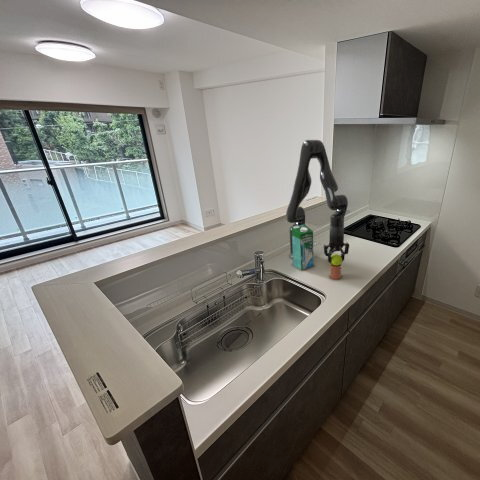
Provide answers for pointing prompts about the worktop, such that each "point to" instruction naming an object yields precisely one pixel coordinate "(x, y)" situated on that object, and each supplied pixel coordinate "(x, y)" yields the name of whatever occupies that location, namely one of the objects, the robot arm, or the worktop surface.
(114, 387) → the worktop surface
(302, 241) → the milk carton
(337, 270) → the cup
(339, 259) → the ball
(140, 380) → the worktop surface
